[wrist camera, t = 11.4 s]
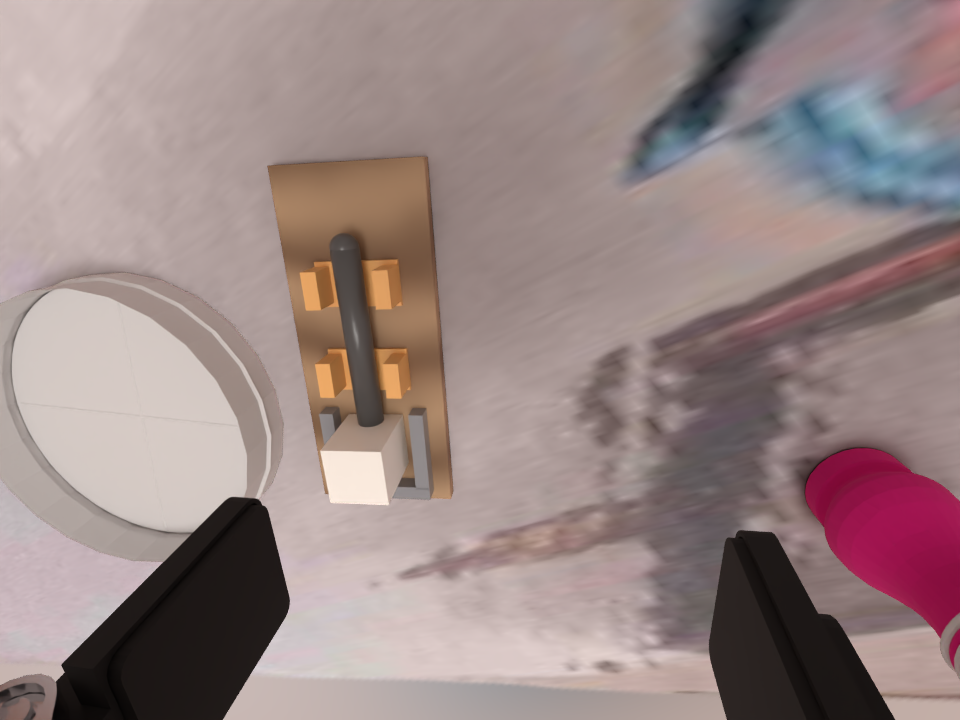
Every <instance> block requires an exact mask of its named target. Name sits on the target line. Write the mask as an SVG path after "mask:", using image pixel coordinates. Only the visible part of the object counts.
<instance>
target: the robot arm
mask: <svg viewBox="0 0 960 720" xmlns="http://www.w3.org/2000/svg"><path fill="white" fill-rule="evenodd" d="M289 605H290V599H289V594H288V590H287V586H286V582H285V578H284V574H283V570H282V566H281V562H280V557H279V553H278V549H277V545H276V541H275V537H274V533H273V529H272V525H271V521H270V517H269V513H268V510H267V508H266V507H265V506H262V504H261V502H260V501H259V500H258V499H256V498H245V497H230V498H228V499H226V500H225V501H224V502H223V503H222V504H221V505H220V506H219V507H218V508H217V509H216V510H215V511H214V512H213V513H212V514H211V515H210V516H209V517H208V518H207V519H206V520H205V521H204V522H203V523H202V524H201V525H200V526H199V527H198V528H197V529H196V530H195V531H194V532H193V533H192V534H191V535H190V536H189V537H188V538H187V539H186V540H185V541H184V542H183V543H182V544H181V545H180V546H179V547H178V548H177V549H176V550H175V551H174V552H173V553H172V554H171V555H170V556H169V557H168V558H167V559H166V560H165V561H164V562H163V563H162V564H161V565H160V566H159V567H158V568H157V569H156V570H155V571H154V572H153V573H152V574H151V575H150V576H149V577H148V578H147V579H146V580H145V581H144V582H143V583H142V584H141V585H140V586H139V587H138V588H137V589H136V590H135V591H134V592H133V593H132V594H131V595H130V596H129V597H128V598H127V599H126V600H125V601H124V602H123V603H122V604H121V605H120V606H119V607H118V608H117V609H116V610H115V611H114V612H113V613H112V614H111V615H110V616H109V617H108V618H107V619H106V620H105V621H104V622H103V623H102V624H101V625H100V626H99V627H98V628H97V629H96V630H95V631H94V632H93V633H92V634H91V635H90V636H89V637H88V638H87V639H86V640H85V641H84V642H83V643H82V644H81V645H80V646H79V647H78V648H77V649H76V650H75V651H74V652H73V653H72V654H71V655H70V656H69V657H68V658H67V659H66V660H65V661H64V662H63V663H62V665H61V666H62V668H63V670H64V672H65V673H64V674H63V675H62V676H61V677H60V678H59V679H58V680H57V681H56V682H55V681H54V680H53V679H52V678H51V677H50V676H46V675H42V674H35V675H26V676H23V677H20V678H17V679H13V680H10V681H8V682H6V683H4V684H2V685H0V720H223V718H224V717H225V715H226V713H227V712H228V710H229V709H230V707H231V705H232V704H233V702H234V700H235V699H236V697H237V695H238V694H239V692H240V690H241V689H242V687H243V686H244V684H245V682H246V681H247V679H248V678H249V676H250V674H251V673H252V671H253V669H254V668H255V666H256V665H257V663H258V661H259V660H260V658H261V656H262V655H263V653H264V651H265V650H266V648H267V647H268V645H269V643H270V642H271V640H272V638H273V637H274V635H275V634H276V632H277V630H278V629H279V627H280V625H281V624H282V622H283V621H284V619H285V617H286V615H287V613H288V610H289ZM709 653H710V660H711V664H712V668H713V671H714V675H715V679H716V682H717V686H718V689H719V693H720V697H721V700H722V703H723V707H724V711H725V714H726V717H727V720H895V719H894V717H893V715H892V713H891V712H890V710H889V709H888V707H887V705H886V703H885V701H884V700H883V698H882V696H881V694H880V693H879V691H878V689H877V687H876V686H875V684H874V682H873V680H872V679H871V677H870V675H869V673H868V672H867V670H866V668H865V667H864V665H863V663H862V661H861V660H860V658H859V656H858V654H857V653H856V651H855V649H854V647H853V646H852V644H851V642H850V640H849V639H848V637H847V635H846V634H845V632H844V630H843V628H842V627H841V626H840V624H839V623H838V621H837V620H836V619H835V618H833V617H832V616H831V615H827V614H818V613H817V611H816V609H815V607H814V605H813V603H812V601H811V600H810V598H809V596H808V594H807V592H806V590H805V588H804V587H803V585H802V583H801V581H800V579H799V577H798V576H797V574H796V572H795V570H794V568H793V566H792V564H791V563H790V561H789V559H788V557H787V555H786V553H785V552H784V550H783V548H782V546H781V544H780V542H779V540H778V539H777V537H776V536H775V534H773V533H772V532H759V531H744V530H740V531H738V532H737V534H736V537H735V538H727V539H726V542H725V546H724V553H723V559H722V565H721V571H720V577H719V584H718V590H717V596H716V602H715V608H714V615H713V621H712V627H711V633H710V639H709Z"/></svg>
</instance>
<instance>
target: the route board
mask: <svg viewBox="0 0 960 720" xmlns="http://www.w3.org/2000/svg"><path fill="white" fill-rule="evenodd" d="M268 172H269V177H270V183H271V189H272V194H273V200H274V206H275V211H276V217H277V223H278V228H279V234H280V240H281V245H282V251H283V257H284V262H285V268H286V274H287V279H288V285H289V291H290V296H291V302H292V308H293V313H294V319H295V325H296V331H297V336H298V342H299V348H300V353H301V359H302V365H303V370H304V376H305V382H306V387H307V393H308V399H309V404H310V410H311V416H312V421H313V427H314V433H315V438H316V444H317V450H318V455H319V461H320V467H321V472H322V478H323V484H324V489H325V494H329V492H328V487H327V482H326V477H325V472H324V467H323V462H322V457H321V452H320V450H321V449H322V448H323V447H324V440H323V434H322V429H321V423H320V417H319V414H320V413H321V412H322V410H323V409H324V408H325V407H339V409H340V416H341V422H342V423H343V421H344V420H345V419H346V417H347V416H348V415H349V414H357V413H356V407H355V401H354V395H353V390H342V391H341V392H340V393H339V394H338V395H337V396H336V397H335V398H321V397H320V391H319V385H318V379H317V374H316V368H315V364H316V363H317V362H318V361H320V360H321V359H322V358H323V357H325V356H326V355H327V354H328V349H329V348H346V347H345V341H344V335H343V329H342V323H341V317H340V311H339V307H326V308H324V309H322V310H313V311H306V308H305V302H304V296H303V290H302V284H301V278H300V272H302V271H305V270H308V269H310V268H313V267H314V262H318V261H331V256H330V250H329V244H330V241H331V239H332V238H333V237H334V236H335V235H337V234H339V233H348V234H350V235H352V236H353V237H355V238H356V240H357V241H358V243H359V248H360V255H361V260H385V259H398V262H399V272H400V282H401V292H402V301H403V305H402V306H395V307H394V308H393V309H378V310H376V306H368V310H369V317H370V324H371V331H372V338H373V345H374V348H407V351H408V360H409V370H410V380H411V390H407V391H406V393H405V394H404V396H403V397H402V398H401V399H390V398H387V397H386V390H380V394H381V401H382V408H383V414H403V421H404V429H405V437H406V444H407V452H408V460H409V463H408V465H407V467H406V469H405V472H404V474H403V476H402V478H415V475H414V466H413V456H412V447H411V437H410V428H409V419H408V415H409V413H410V412H411V410H412V408H426V410H427V420H428V431H429V442H430V453H431V464H432V475H433V486H434V491H433V494H432V497H431V498H442V499H451V497H452V494H453V481H452V468H451V455H450V442H449V429H448V416H447V403H446V390H445V377H444V365H443V352H442V339H441V326H440V313H439V300H438V287H437V274H436V261H435V248H434V235H433V222H432V209H431V196H430V183H429V170H428V158H427V157H408V158H391V159H374V160H357V161H340V162H323V163H306V164H289V165H272V166H268Z"/></svg>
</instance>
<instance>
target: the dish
mask: <svg viewBox="0 0 960 720" xmlns="http://www.w3.org/2000/svg"><path fill="white" fill-rule="evenodd" d="M282 449H283V420H282V416H281V412H280V408H279V403H278V399H277V395H276V391H275V388H274V386H273V384H272V383H271V381H270V379H269V377H268V375H267V373H266V371H265V369H264V367H263V365H262V363H261V361H260V359H259V357H258V355H257V354H256V353H255V352H254V350H253V349H252V348H251V347H250V345H249V344H248V343H247V342H246V341H245V339H244V338H243V337H242V336H241V335H240V333H239V332H238V331H237V330H236V328H235V327H234V326H233V325H232V324H231V323H230V322H229V321H228V320H226V319H225V318H224V317H222V316H221V315H220V314H219V313H217V312H216V311H215V310H214V309H212V308H211V307H210V306H208V305H207V304H206V303H205V302H203V301H202V300H201V299H200V298H198V297H196V296H194V295H192V294H190V293H188V292H186V291H184V290H181V289H179V288H177V287H175V286H173V285H171V284H169V283H167V282H165V281H163V280H159V279H155V278H150V277H145V276H140V275H136V274H131V273H126V272H120V273H108V274H95V275H87V276H83V277H78V278H73V279H69V280H65V281H63V282H60V283H58V284H56V285H53V286H51V287H47V288H42V289H37V290H32V291H28V292H26V293H23V294H21V295H19V296H17V297H14V298H12V299H10V300H7V301H5V302H3V303H0V478H1V479H2V481H3V482H4V483H5V485H6V486H7V488H8V489H9V490H10V491H11V492H12V493H13V494H14V495H15V496H16V497H17V498H18V499H19V500H20V501H21V502H22V503H23V504H24V505H25V506H26V507H28V508H29V509H30V510H31V511H32V512H33V513H34V514H35V515H36V516H37V517H38V518H40V519H41V520H43V521H44V522H46V523H47V524H49V525H50V526H52V527H53V528H54V529H56V530H57V531H59V532H60V533H62V534H63V535H65V536H66V537H68V538H70V539H72V540H74V541H76V542H78V543H81V544H83V545H85V546H87V547H89V548H91V549H94V550H96V551H98V552H100V553H104V554H108V555H112V556H116V557H120V558H124V559H127V560H131V561H151V562H164V561H165V560H166V559H167V558H168V557H169V556H170V555H171V554H172V553H173V552H174V551H175V550H176V549H177V548H178V547H179V546H180V545H181V544H182V543H183V542H184V541H185V540H186V539H187V538H188V537H189V536H190V535H191V534H192V533H193V532H194V531H195V530H196V529H197V528H198V527H199V526H200V525H201V524H202V523H203V522H204V521H205V520H206V519H207V518H208V517H209V516H210V515H211V514H212V513H213V512H214V511H215V510H216V509H217V508H218V507H219V506H220V505H221V504H222V503H223V502H224V501H225V500H226V499H228V498H230V497H245V498H256V499H258V500H259V499H260V498H261V496H262V495H263V494H264V493H265V491H266V490H267V489H268V488H269V486H270V485H271V484H272V483H273V480H274V477H275V474H276V472H277V469H278V466H279V463H280V460H281V458H282Z"/></svg>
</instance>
